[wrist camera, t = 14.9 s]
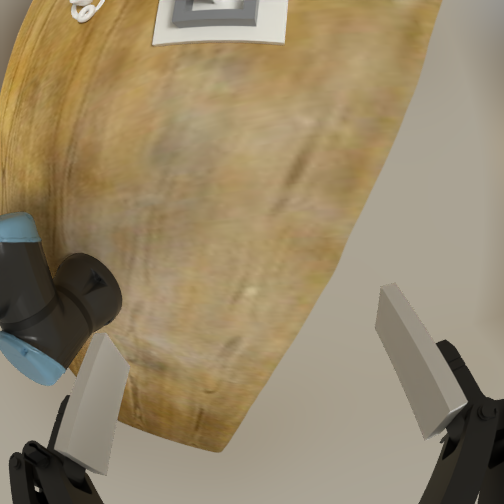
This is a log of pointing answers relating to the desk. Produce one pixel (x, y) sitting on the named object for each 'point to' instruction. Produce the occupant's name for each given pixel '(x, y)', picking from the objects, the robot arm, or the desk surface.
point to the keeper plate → (220, 22)
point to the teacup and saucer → (84, 9)
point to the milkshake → (218, 1)
